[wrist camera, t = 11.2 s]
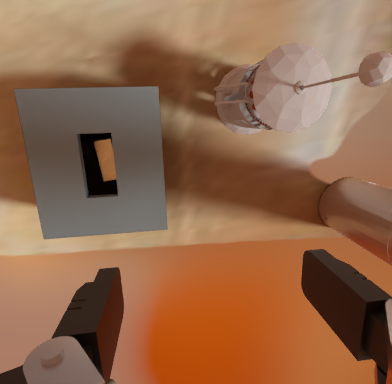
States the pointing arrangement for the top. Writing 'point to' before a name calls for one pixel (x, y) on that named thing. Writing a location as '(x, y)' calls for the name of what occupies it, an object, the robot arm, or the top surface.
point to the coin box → (74, 165)
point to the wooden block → (106, 158)
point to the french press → (287, 89)
